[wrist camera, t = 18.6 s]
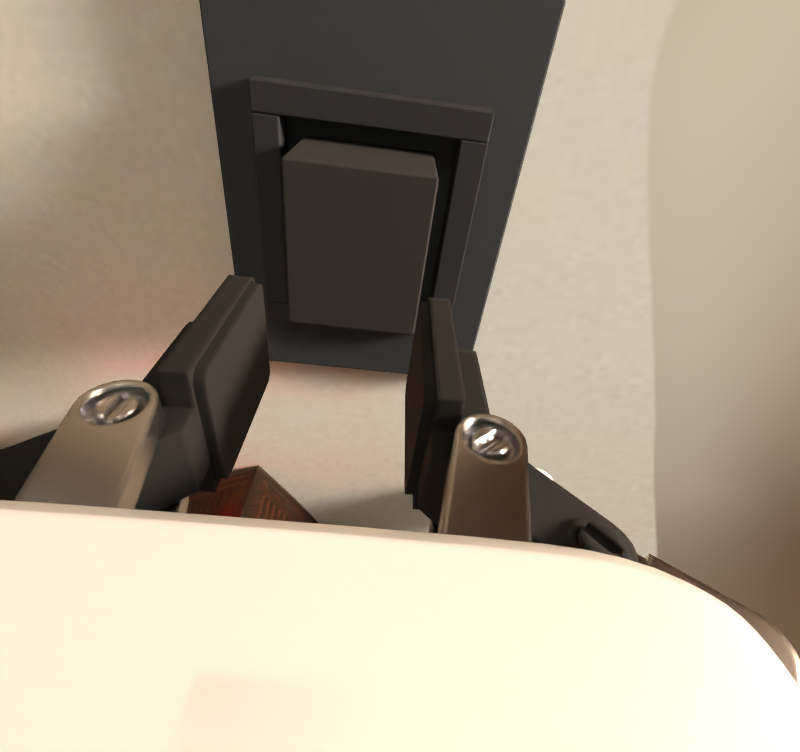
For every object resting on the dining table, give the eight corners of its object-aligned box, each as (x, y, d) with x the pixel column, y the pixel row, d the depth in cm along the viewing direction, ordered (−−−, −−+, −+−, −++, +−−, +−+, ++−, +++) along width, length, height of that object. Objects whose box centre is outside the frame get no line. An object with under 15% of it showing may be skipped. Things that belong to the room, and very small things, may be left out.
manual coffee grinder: (139, 500, 33) (-68, 854, 18) (259, 461, 30) (123, 847, 16) (261, 591, 41) (184, 880, 27) (363, 567, 38) (338, 879, 24)
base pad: (202, -55, 14) (174, -68, 12) (558, 0, 15) (578, -5, 13) (250, 347, 24) (237, 371, 22) (463, 369, 25) (467, 394, 23)
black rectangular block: (304, 134, 17) (280, 157, 13) (433, 151, 17) (439, 177, 14) (307, 278, 20) (288, 322, 17) (413, 290, 21) (414, 335, 17)
